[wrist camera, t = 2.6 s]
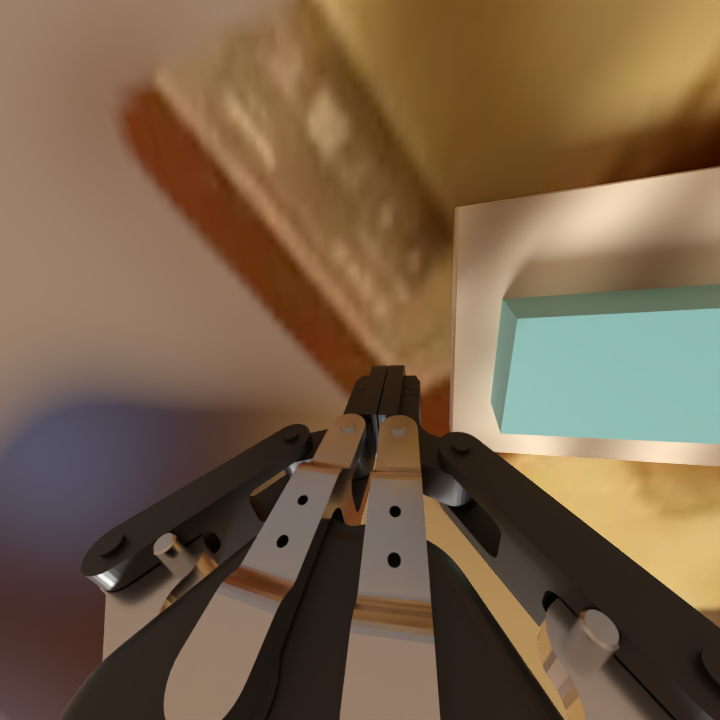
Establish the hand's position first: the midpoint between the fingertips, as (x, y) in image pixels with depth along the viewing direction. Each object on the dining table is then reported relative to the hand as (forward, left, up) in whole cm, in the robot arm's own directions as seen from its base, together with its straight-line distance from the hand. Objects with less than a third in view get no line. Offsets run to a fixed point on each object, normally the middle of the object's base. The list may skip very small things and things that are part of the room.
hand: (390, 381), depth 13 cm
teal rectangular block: (-10, 0, -3) cm, 10 cm away
